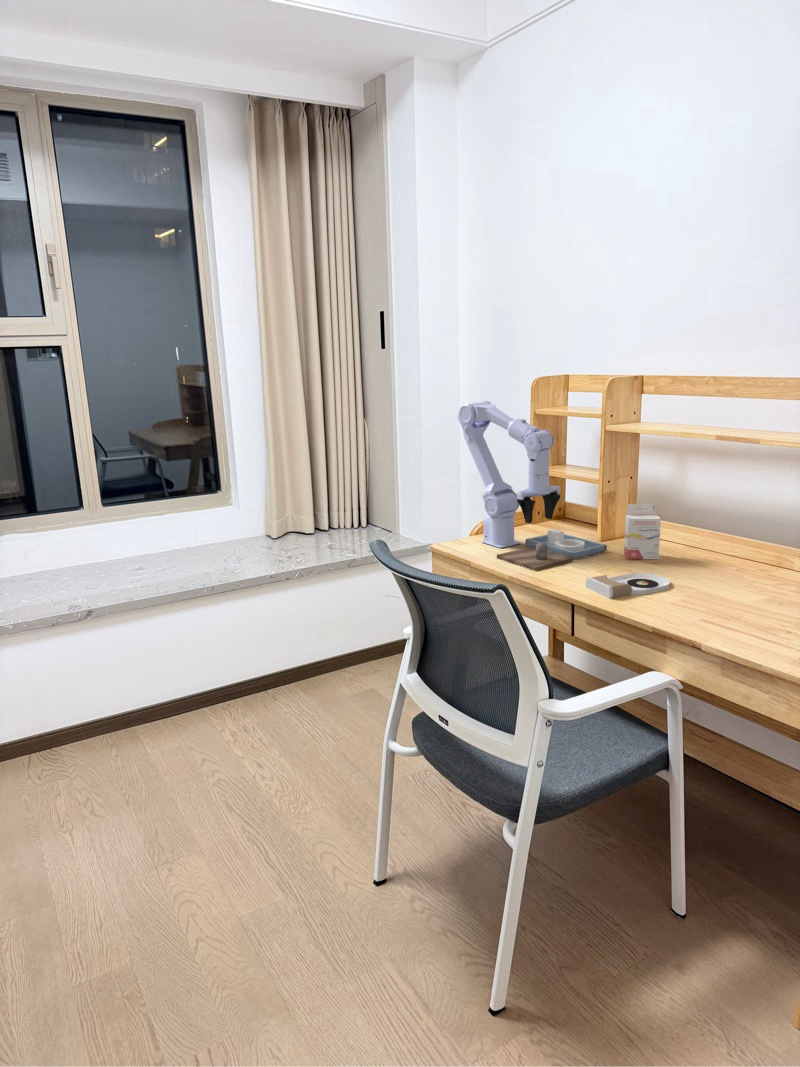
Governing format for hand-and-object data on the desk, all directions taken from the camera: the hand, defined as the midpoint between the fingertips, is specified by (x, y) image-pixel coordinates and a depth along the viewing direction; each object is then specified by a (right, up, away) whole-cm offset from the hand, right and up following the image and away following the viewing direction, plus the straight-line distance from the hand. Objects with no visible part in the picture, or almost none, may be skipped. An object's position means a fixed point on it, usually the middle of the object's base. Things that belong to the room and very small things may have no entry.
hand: (538, 520), depth 214 cm
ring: (+9, -7, +5) cm, 12 cm away
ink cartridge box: (+27, -11, -7) cm, 30 cm away
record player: (+17, -17, -31) cm, 39 cm away
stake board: (-2, -11, -5) cm, 12 cm away
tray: (+9, -8, +5) cm, 13 cm away
